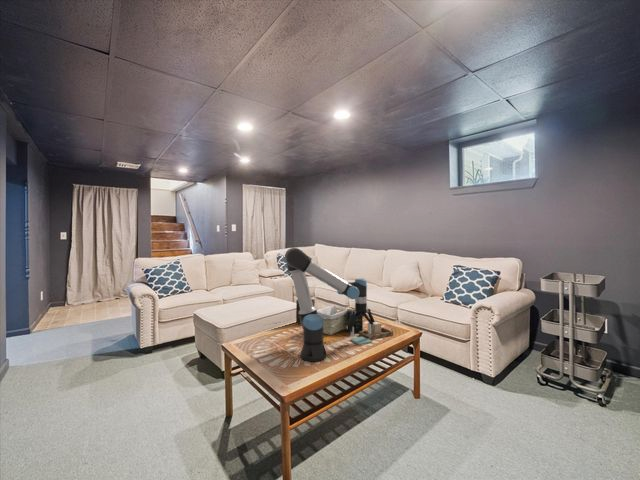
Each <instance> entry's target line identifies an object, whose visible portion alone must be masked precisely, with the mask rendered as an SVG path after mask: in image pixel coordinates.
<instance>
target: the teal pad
mask: <svg viewBox="0 0 640 480" xmlns="http://www.w3.org/2000/svg"><path fill="white" fill-rule="evenodd" d="M350 341H351V342H353V343H355V344H356V345H358V346H362V345H367V344H371V343H373V340H369V339H367V338H365V337H363V336H362V337H361V336H358V337H352V338H350Z"/></svg>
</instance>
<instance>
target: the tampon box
mask: <svg viewBox="0 0 640 480" xmlns="http://www.w3.org/2000/svg"><path fill="white" fill-rule="evenodd" d="M355 310H356V309H355V308H353V309H351V308H350V309H349V308H347V323H348V320H349V318H350V315H351V311H355ZM355 314H356V313H355ZM354 317H355V315H354ZM363 318H364V317H359V318H358V319H357V321H356V322H355V324H354V325H353V327H354V333H359V332H360V331H364V330H363V327H364V326H363V323H364V322H363V320H364V319H363ZM347 333H351V332H350V326H347Z"/></svg>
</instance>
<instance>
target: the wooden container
mask: <svg viewBox="0 0 640 480" xmlns="http://www.w3.org/2000/svg"><path fill="white" fill-rule="evenodd" d="M311 299H312V303H313V306H314V307H315V305H316V304H315V299H313V298H311ZM295 307H296V308H295V310H296V311H295V322H296V324H297V323H298V324H297V325H299V324H301V323H300V317H299V311H300V307H299V303H298V299H297V300H296V306H295Z"/></svg>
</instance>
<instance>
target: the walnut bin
mask: <svg viewBox="0 0 640 480" xmlns="http://www.w3.org/2000/svg"><path fill="white" fill-rule="evenodd" d="M362 336H363V337H365V338H367V339H369V340H371V341H373V340H376V339H380V338H381V339H382V338H386V337H391V336H392V337H393V336H394V331H392V330H390V329H388V328H385V327H381V334H376V335H371V334H369V333H368V329H367V330H363V331H360V332H358V337H362Z"/></svg>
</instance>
